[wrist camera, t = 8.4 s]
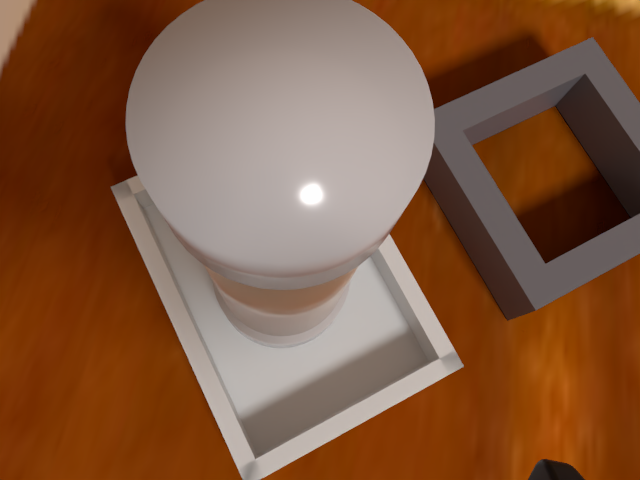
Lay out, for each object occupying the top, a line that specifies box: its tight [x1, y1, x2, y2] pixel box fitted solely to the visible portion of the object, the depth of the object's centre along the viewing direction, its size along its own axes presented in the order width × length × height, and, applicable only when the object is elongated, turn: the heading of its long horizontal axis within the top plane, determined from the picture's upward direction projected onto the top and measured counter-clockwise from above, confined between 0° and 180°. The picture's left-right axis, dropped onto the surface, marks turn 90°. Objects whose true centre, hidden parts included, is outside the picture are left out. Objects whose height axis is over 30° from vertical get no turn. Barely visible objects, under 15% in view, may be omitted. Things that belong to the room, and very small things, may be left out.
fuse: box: [126, 0, 435, 348], centre depth 15 cm, size 5×5×13 cm
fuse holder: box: [423, 37, 640, 320], centre depth 22 cm, size 8×8×2 cm
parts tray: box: [111, 175, 464, 480], centre depth 21 cm, size 8×11×2 cm
